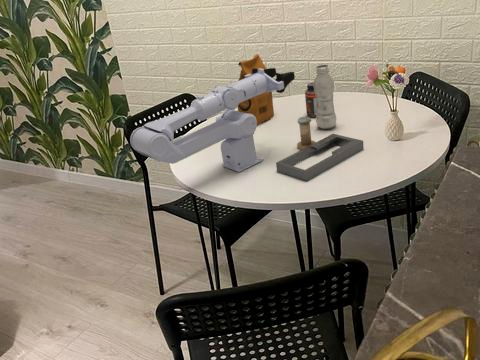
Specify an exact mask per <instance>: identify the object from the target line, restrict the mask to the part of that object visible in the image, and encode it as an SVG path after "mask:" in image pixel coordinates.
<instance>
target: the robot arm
mask: <svg viewBox="0 0 480 360" xmlns="http://www.w3.org/2000/svg"><path fill="white" fill-rule="evenodd" d="M274 77H276V78H275V79H274ZM295 77H296V76H295V72H294V71H289V72H288V71H287V72H285V73H279V72H277V68H275V67H272V68H271V67H269V68H266V69H261V68H259V69H256V68H253V69H252V75H251V74H247V75H245V79H242V80H240V81H238V80H237V81H235V82H233V83H230V84H228V85H226V86H222V85H218V86H217V85H216V86H213V87H212V88H211V90H210V92H209V93H207V94H205V95H201V94H199V95H198V96H196V98H195V99H194V100H192V101H191V104H190V106H189V107H186V108H185V109H181V110H179V111H177V112H174V113H173V114H169V115H167V116H164V117H162V118H159V119H156V120H152V121H149V122H147V123H145V124H143V126H140V127H137V128H136V129H134V130H133V131H132V133H131V135H130V139H129V141H130V146H131V147H132V148H133V150H135V151H136V152H137V153H139V154H141V155H142V156H145V157H148V158H150V159H152V160H154V161H157V162H158V163H165V164H166V163H167V164H177V163H179V162H180V161H183V160H185V159H188V158H190V157H191V156H193V155H195V154H198V153H200V152H201V151H203V150H206V149H207V148H210V147H211V146H213V145H215V144H218V143H220V142H221V143H220V151H221V158H222V164H221V165H222V167H224V168H226V169H227V168H228V169H230V170H232V171H235V172H237V173H239V172H240V173H241V172H242V171H243V172H244V170H247V169H248V168H251V167H252V166H254V165H257V164H258V163H261V162H263V161H264V158H262V157H259V156H257V152H256V145H255V139H254V135H255V132H256V130H257V120H256V117H255V116H254V115H253V114H247V113H243V112H239V111H238V110H236V109H238V105H239V103H241V102H243V101H246V100H248V99H250V98H253V97H255V96H257V95H260V94H262V93H267V92H271V91H272V92H274V91H276V93H279V94H282V93H284V92H285V90H286V89H287V87H288V86H289V84H290V83H292V82H293V81H294V80H295V79H296V78H295ZM222 111H223V112H222ZM221 112H222V113H221ZM219 113H221V114H220V115H219V116H218V117H216V118H215V122H212V123H211V124H208V125H206V126H204V127H201V128H199V129H197V130H196V131H193V132H191V133H189V134H186V135H184V136H182V137H180V138H177V139H176V140H174V137H175V136H174V134H175V131H177V130H179V129H181V128H182V127H185V126H186V125H187V124H189V123H192V122H194V121H195V120H198V121H199V122H200V121H205V120H207V119H209V118H210V117H213V116H214V115H217V114H219Z"/></svg>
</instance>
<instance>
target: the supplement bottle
mask: <svg viewBox="0 0 480 360" xmlns="http://www.w3.org/2000/svg"><path fill="white" fill-rule="evenodd" d="M313 82H314V81H311V82H308V83H306V84H307V85H306V86H307V89H306V90H305V92H304V97H305V108H306V117H310V118H311V119H312V118H314V119H316V115H317V103H316V95H315V91H314V87H313Z"/></svg>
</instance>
